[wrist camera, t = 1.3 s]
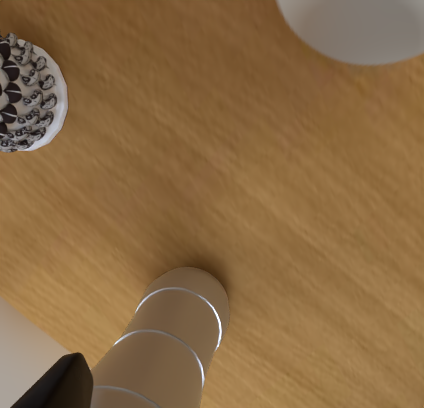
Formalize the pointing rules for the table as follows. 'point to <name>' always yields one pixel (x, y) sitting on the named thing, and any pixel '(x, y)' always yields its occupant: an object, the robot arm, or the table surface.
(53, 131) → the white patterned cylinder
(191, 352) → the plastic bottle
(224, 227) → the table surface
